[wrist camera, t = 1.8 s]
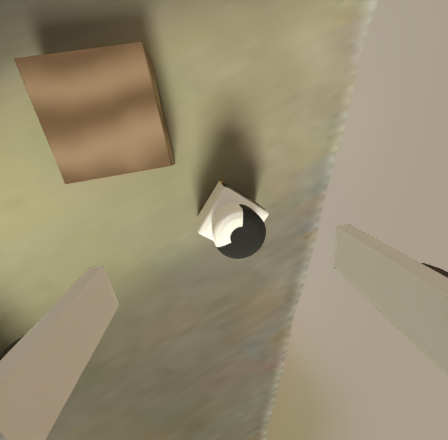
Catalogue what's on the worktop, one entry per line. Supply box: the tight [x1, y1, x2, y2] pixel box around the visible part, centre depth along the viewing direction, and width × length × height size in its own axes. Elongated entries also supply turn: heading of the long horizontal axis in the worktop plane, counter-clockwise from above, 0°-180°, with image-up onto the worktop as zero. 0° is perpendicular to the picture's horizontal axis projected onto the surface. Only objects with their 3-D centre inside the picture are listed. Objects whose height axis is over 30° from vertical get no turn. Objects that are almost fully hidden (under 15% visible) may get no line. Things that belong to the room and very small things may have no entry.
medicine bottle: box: [198, 181, 268, 259], centre depth 29 cm, size 7×7×12 cm
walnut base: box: [14, 42, 175, 184], centre depth 26 cm, size 13×13×5 cm
